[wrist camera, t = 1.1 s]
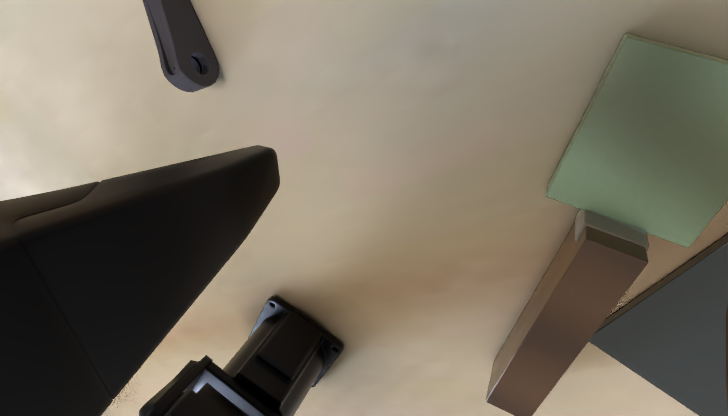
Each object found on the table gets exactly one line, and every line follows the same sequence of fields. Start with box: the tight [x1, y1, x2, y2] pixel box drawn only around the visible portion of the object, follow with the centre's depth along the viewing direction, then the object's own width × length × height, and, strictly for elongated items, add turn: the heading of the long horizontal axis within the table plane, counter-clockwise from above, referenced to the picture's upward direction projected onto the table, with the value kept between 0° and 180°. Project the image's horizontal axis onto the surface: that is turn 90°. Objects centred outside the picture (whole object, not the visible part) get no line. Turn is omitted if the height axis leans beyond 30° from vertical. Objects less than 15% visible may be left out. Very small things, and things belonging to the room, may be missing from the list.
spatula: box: [486, 33, 728, 416], centre depth 20 cm, size 19×6×3 cm, turn 169°
